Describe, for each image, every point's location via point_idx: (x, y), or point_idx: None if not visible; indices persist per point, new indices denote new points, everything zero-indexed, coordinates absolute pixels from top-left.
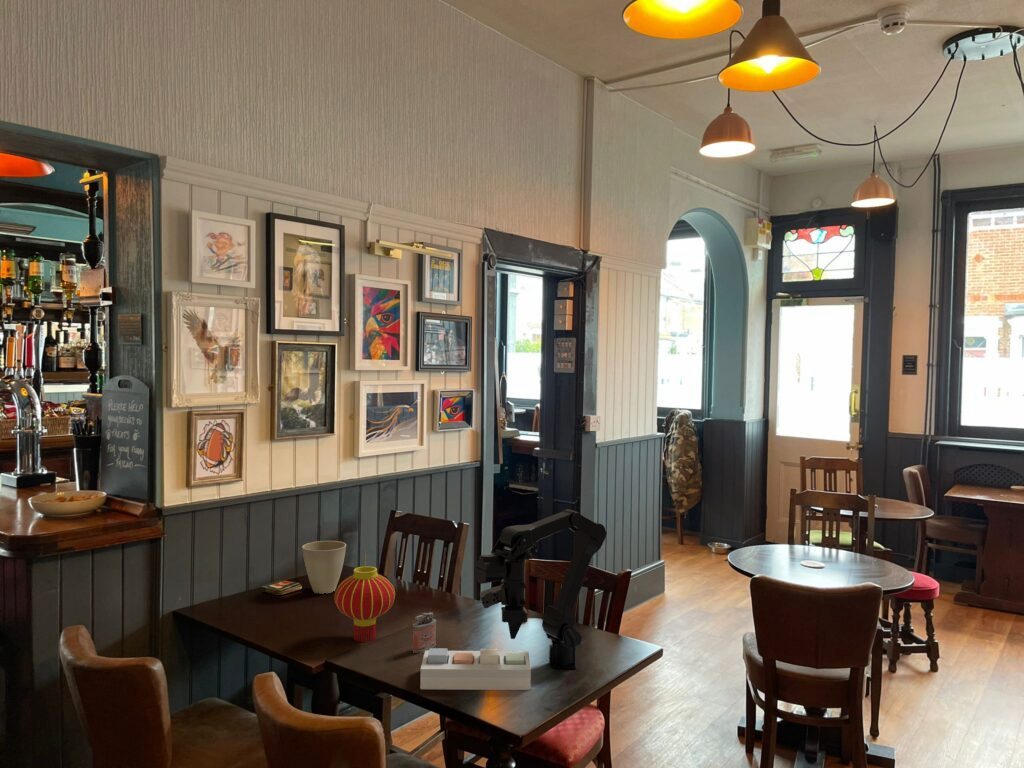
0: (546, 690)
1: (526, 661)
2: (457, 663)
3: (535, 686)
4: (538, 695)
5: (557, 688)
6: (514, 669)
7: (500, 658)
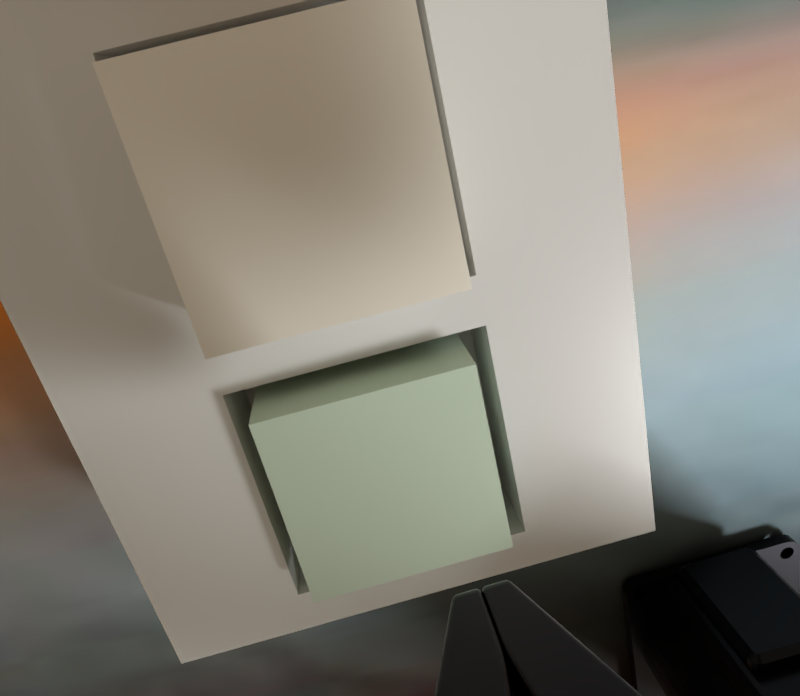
0: None
1: None
2: None
3: None
4: (144, 601)
5: (307, 674)
6: (123, 531)
7: None
